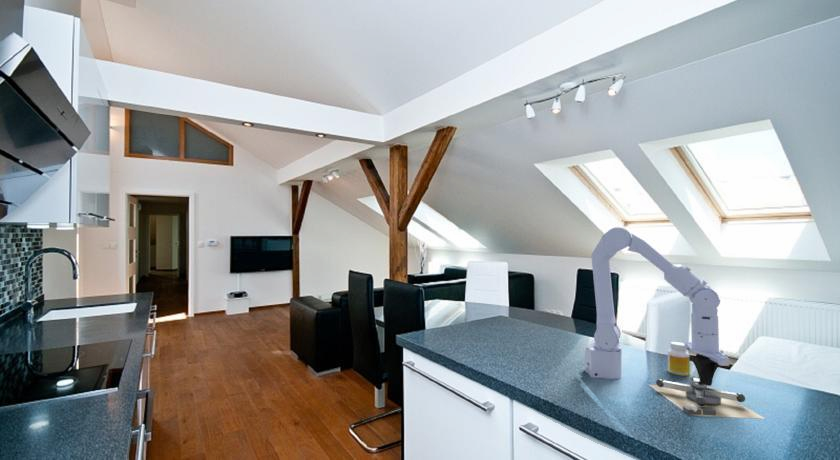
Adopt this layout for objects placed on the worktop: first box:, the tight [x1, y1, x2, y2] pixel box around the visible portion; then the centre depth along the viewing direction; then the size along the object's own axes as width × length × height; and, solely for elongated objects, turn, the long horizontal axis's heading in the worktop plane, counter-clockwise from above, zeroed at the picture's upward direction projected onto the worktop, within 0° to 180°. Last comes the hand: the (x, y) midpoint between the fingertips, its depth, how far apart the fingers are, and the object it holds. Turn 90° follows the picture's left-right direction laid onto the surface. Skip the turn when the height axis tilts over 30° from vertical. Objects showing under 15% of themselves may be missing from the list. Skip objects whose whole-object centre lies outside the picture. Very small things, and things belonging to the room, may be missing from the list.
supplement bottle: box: [667, 341, 691, 377], centre depth 114 cm, size 5×5×10 cm
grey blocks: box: [682, 405, 716, 415], centre depth 88 cm, size 6×2×2 cm, turn 85°
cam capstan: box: [655, 375, 746, 406], centre depth 96 cm, size 18×18×4 cm
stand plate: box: [648, 384, 766, 420], centre depth 95 cm, size 16×18×1 cm
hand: (705, 384), depth 100 cm, fingers closed, pressing on cam capstan
